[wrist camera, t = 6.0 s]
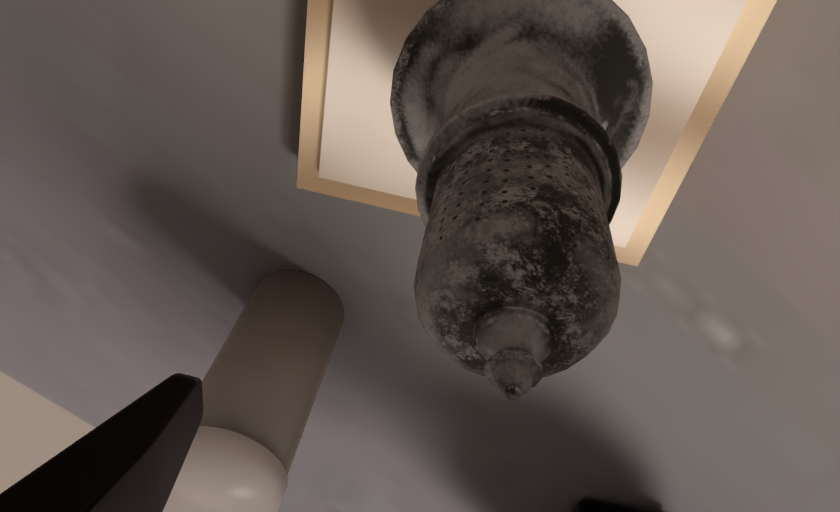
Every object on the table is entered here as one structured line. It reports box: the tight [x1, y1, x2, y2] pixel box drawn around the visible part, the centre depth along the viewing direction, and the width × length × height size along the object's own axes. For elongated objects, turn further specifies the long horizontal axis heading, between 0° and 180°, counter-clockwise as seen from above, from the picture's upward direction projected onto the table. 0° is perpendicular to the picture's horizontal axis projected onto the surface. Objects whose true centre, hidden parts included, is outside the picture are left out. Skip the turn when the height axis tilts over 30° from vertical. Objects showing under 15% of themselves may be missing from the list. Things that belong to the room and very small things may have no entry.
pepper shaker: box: [163, 270, 344, 512], centre depth 22 cm, size 4×4×9 cm
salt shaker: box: [390, 0, 653, 400], centre depth 11 cm, size 6×6×12 cm
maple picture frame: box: [297, 0, 777, 266], centre depth 17 cm, size 12×12×2 cm
